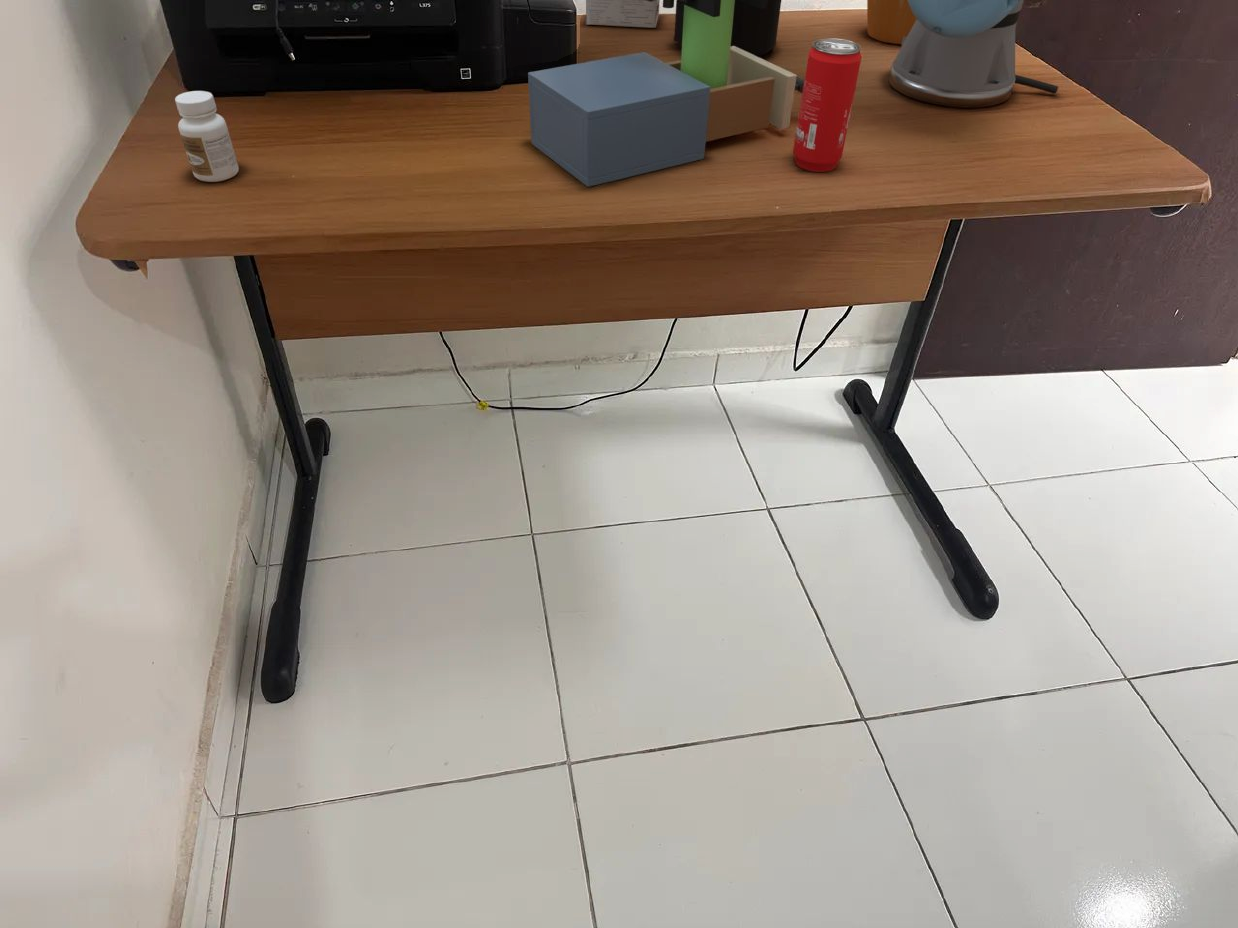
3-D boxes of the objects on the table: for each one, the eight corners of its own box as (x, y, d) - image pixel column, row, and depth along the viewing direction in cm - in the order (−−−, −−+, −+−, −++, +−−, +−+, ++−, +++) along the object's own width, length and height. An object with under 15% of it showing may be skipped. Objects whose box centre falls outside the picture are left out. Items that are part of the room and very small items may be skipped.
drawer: (756, 90, 107) (762, 40, 103) (817, 121, 100) (826, 68, 96) (635, 116, 100) (637, 63, 96) (692, 151, 93) (696, 96, 89)
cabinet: (642, 120, 102) (644, 51, 97) (704, 159, 94) (710, 86, 89) (531, 144, 96) (527, 72, 91) (587, 187, 88) (587, 112, 83)
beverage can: (792, 152, 96) (810, 36, 88) (839, 156, 95) (862, 39, 87) (790, 171, 92) (810, 52, 84) (840, 176, 91) (864, 56, 83)
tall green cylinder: (731, 81, 97) (746, -74, 87) (721, 96, 93) (735, -63, 83) (686, 75, 98) (695, -78, 88) (674, 91, 94) (683, -68, 84)
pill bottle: (186, 174, 89) (160, 96, 83) (225, 161, 91) (203, 85, 86) (207, 187, 86) (182, 108, 81) (247, 174, 89) (226, 96, 84)
